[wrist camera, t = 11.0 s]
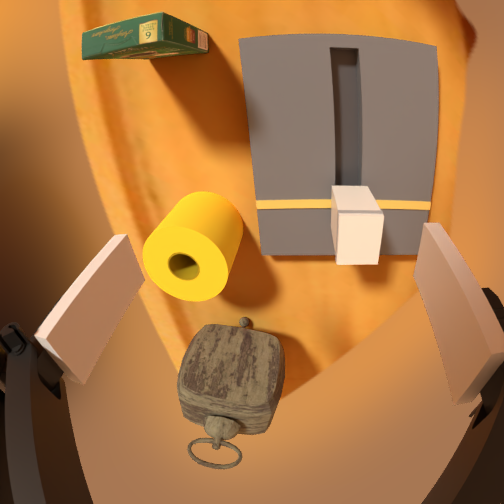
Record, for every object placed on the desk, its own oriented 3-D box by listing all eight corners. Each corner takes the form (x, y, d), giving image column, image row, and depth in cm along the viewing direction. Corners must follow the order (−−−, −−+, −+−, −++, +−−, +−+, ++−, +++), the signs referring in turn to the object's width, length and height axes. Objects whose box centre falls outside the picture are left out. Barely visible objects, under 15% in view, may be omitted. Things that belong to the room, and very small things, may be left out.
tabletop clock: (203, 335, 52) (161, 460, 32) (202, 299, 47) (147, 441, 27) (282, 349, 51) (265, 482, 31) (291, 314, 46) (275, 468, 26)
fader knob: (329, 177, 33) (338, 215, 24) (363, 177, 32) (384, 215, 24) (328, 216, 36) (336, 265, 27) (361, 216, 35) (378, 264, 26)
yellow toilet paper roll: (210, 177, 36) (184, 208, 28) (258, 236, 40) (246, 280, 32) (158, 216, 40) (127, 253, 32) (204, 267, 44) (183, 311, 36)
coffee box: (212, 31, 26) (163, 9, 15) (211, 53, 27) (161, 43, 17) (147, 39, 27) (78, 31, 16) (147, 60, 28) (78, 61, 17)
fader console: (242, 41, 26) (238, 38, 24) (427, 47, 22) (437, 46, 20) (263, 244, 40) (261, 256, 38) (415, 244, 36) (420, 255, 34)
